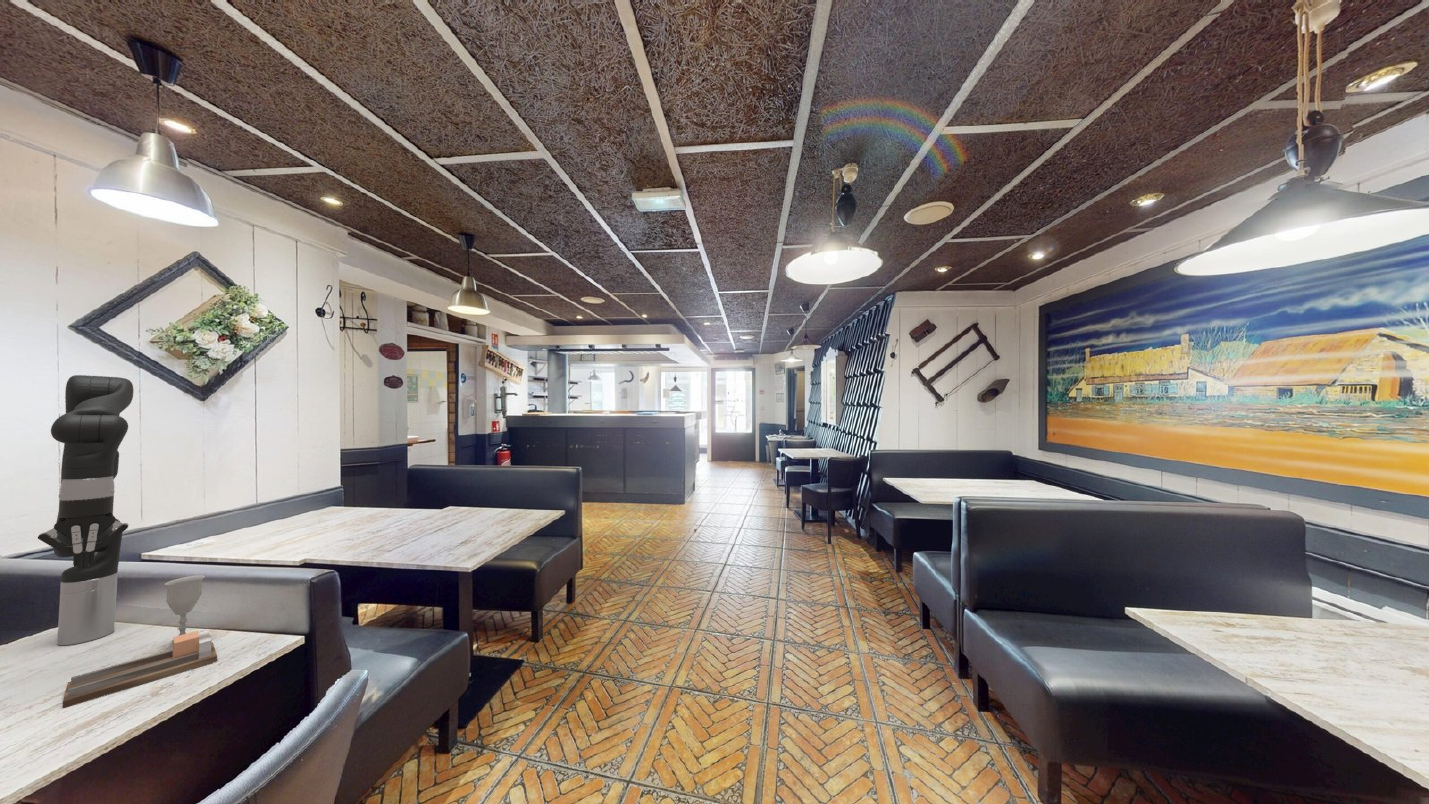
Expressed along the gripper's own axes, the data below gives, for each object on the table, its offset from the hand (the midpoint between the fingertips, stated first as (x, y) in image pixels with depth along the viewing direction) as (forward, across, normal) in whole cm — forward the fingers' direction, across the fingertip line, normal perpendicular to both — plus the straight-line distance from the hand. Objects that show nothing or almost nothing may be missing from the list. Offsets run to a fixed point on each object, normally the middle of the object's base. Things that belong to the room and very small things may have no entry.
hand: (83, 567), depth 103 cm
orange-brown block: (+25, -16, +10) cm, 32 cm away
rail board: (+27, -10, +10) cm, 30 cm away
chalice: (+27, -16, -4) cm, 32 cm away
